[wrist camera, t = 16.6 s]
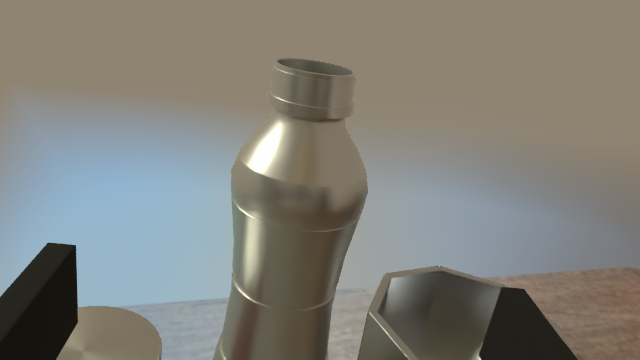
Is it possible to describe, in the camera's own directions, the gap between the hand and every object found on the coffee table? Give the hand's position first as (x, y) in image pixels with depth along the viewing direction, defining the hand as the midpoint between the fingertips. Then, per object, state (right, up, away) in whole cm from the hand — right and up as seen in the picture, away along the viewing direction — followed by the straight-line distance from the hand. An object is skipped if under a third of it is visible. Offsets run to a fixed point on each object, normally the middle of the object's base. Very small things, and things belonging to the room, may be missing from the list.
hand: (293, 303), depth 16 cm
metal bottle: (-2, -10, +14) cm, 17 cm away
